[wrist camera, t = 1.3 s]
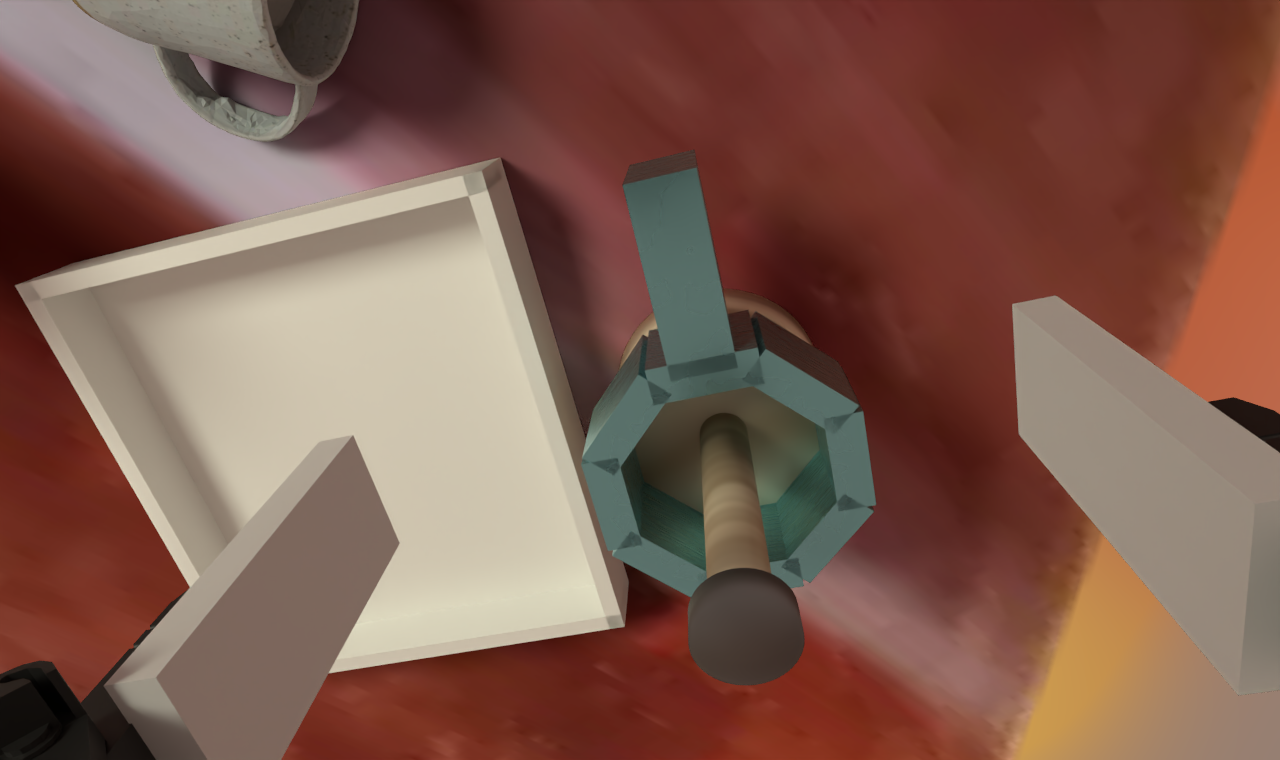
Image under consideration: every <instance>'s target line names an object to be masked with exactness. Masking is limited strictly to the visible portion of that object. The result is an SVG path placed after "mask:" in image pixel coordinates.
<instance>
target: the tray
mask: <svg viewBox="0 0 1280 760" xmlns="http://www.w3.org/2000/svg"><path fill="white" fill-rule="evenodd" d="M15 287H16V289H17V290H18V292H19V294H20V295H21V297H22V299H23V301H24V302H25V304H26V306H27V307H28V309H29V311H30V313H31V314H32V316H33V318H34V320H35V321H36V323H37V325H38V326H39V328H40V330H41V332H42V333H43V335H44V337H45V338H46V340H47V342H48V344H49V345H50V347H51V349H52V350H53V352H54V354H55V356H56V357H57V359H58V361H59V363H60V364H61V366H62V368H63V369H64V371H65V373H66V375H67V376H68V378H69V380H70V381H71V383H72V385H73V387H74V388H75V390H76V392H77V394H78V395H79V397H80V399H81V400H82V402H83V404H84V406H85V407H86V409H87V411H88V412H89V414H90V416H91V418H92V419H93V421H94V423H95V424H96V426H97V428H98V430H99V431H100V433H101V435H102V437H103V438H104V440H105V442H106V443H107V445H108V447H109V449H110V450H111V452H112V454H113V455H114V457H115V459H116V461H117V462H118V464H119V466H120V468H121V469H122V471H123V473H124V474H125V476H126V478H127V480H128V481H129V483H130V485H131V486H132V488H133V490H134V492H135V493H136V495H137V497H138V498H139V500H140V502H141V504H142V505H143V507H144V509H145V511H146V512H147V514H148V516H149V517H150V519H151V521H152V523H153V524H154V526H155V528H156V529H157V531H158V533H159V535H160V536H161V538H162V540H163V541H164V543H165V545H166V547H167V548H168V550H169V552H170V554H171V555H172V557H173V559H174V560H175V562H176V564H177V566H178V567H179V569H180V571H181V572H182V574H183V576H184V578H185V579H186V581H187V583H188V585H189V586H190V587H191V586H192V585H193V584H194V583H195V582H196V581H197V579H198V578H199V577H200V576H201V575H202V574H203V573H204V571H205V570H206V569H207V568H208V567H209V566H210V565H211V564H212V562H213V561H214V560H215V559H216V558H217V557H218V556H219V554H220V553H221V552H222V551H223V550H224V549H225V548H226V547H227V545H228V544H229V543H230V542H231V541H232V540H233V539H234V538H235V536H236V535H237V534H238V533H239V532H240V531H241V530H242V528H243V527H244V526H245V525H246V524H247V523H248V522H249V521H250V519H251V518H252V517H253V516H254V515H255V514H256V513H257V511H258V510H259V509H260V508H261V507H262V506H263V505H264V504H265V502H266V501H267V500H268V499H269V498H270V497H271V496H272V495H273V493H274V492H275V491H276V490H277V489H278V488H279V487H280V485H281V484H282V483H283V482H284V481H285V480H286V479H287V478H288V476H289V475H290V474H291V473H292V472H293V471H294V470H295V468H296V467H297V466H298V465H299V464H300V463H301V462H302V461H303V459H304V458H305V457H306V456H307V455H308V454H309V453H310V451H311V450H312V449H313V448H314V447H315V446H316V445H317V444H318V442H320V441H325V440H330V439H335V438H340V437H345V436H350V435H353V436H354V438H355V440H356V443H357V445H358V447H359V450H360V452H361V454H362V457H363V459H364V461H365V464H366V466H367V468H368V471H369V473H370V475H371V477H372V480H373V482H374V484H375V487H376V489H377V491H378V494H379V496H380V498H381V501H382V503H383V505H384V508H385V510H386V512H387V515H388V517H389V519H390V522H391V524H392V526H393V529H394V531H395V533H396V535H397V538H398V540H399V542H400V544H399V546H398V548H397V549H396V551H395V553H394V555H393V557H392V559H391V560H390V562H389V564H388V566H387V568H386V569H385V571H384V573H383V575H382V577H381V579H380V580H379V582H378V584H377V586H376V588H375V589H374V591H373V593H372V595H371V597H370V599H369V600H368V602H367V604H366V606H365V608H364V609H363V611H362V613H361V615H360V617H359V619H358V620H357V622H356V624H355V626H354V628H353V630H352V631H351V633H350V635H349V637H348V639H347V640H346V642H345V644H344V646H343V648H342V650H341V651H340V653H339V655H338V657H337V659H336V660H335V662H334V664H333V666H332V668H331V670H330V671H329V673H333V672H340V671H346V670H352V669H359V668H365V667H371V666H378V665H384V664H391V663H397V662H403V661H410V660H416V659H422V658H429V657H435V656H442V655H448V654H454V653H461V652H467V651H473V650H480V649H486V648H492V647H499V646H505V645H512V644H518V643H524V642H531V641H537V640H543V639H550V638H556V637H562V636H569V635H575V634H582V633H588V632H594V631H601V630H607V629H613V628H620V627H625V619H626V608H627V597H628V586H629V580H628V577H627V574H626V571H625V567H624V564H623V561H621V560H619V559H617V558H615V557H613V556H612V554H613V550H611V551H608V550H607V546H606V543H605V540H604V537H603V534H602V530H601V527H600V524H599V521H598V517H597V514H596V511H595V508H594V504H593V501H592V498H591V495H590V492H589V488H588V485H587V482H586V479H585V475H584V472H583V469H582V466H581V463H582V456H583V451H584V447H585V443H586V438H585V435H584V432H583V429H582V425H581V422H580V419H579V415H578V412H577V409H576V405H575V402H574V399H573V396H572V392H571V389H570V386H569V382H568V379H567V376H566V372H565V369H564V366H563V363H562V359H561V356H560V353H559V349H558V346H557V343H556V339H555V336H554V333H553V330H552V326H551V323H550V320H549V316H548V313H547V310H546V306H545V303H544V300H543V297H542V293H541V290H540V287H539V283H538V280H537V277H536V273H535V270H534V267H533V264H532V260H531V257H530V254H529V250H528V247H527V244H526V240H525V237H524V234H523V230H522V227H521V224H520V221H519V217H518V214H517V211H516V207H515V204H514V201H513V197H512V194H511V191H510V188H509V184H508V181H507V178H506V174H505V171H504V168H503V164H502V161H501V158H496V159H492V160H487V161H483V162H479V163H475V164H471V165H467V166H463V167H459V168H455V169H451V170H447V171H443V172H439V173H435V174H431V175H427V176H423V177H419V178H415V179H411V180H407V181H403V182H399V183H395V184H391V185H387V186H383V187H378V188H374V189H370V190H366V191H362V192H358V193H354V194H350V195H346V196H342V197H338V198H334V199H330V200H326V201H322V202H318V203H314V204H310V205H306V206H302V207H298V208H294V209H290V210H286V211H282V212H278V213H273V214H269V215H265V216H261V217H257V218H253V219H249V220H245V221H241V222H237V223H233V224H229V225H225V226H221V227H217V228H213V229H209V230H205V231H201V232H197V233H193V234H189V235H185V236H181V237H177V238H173V239H169V240H164V241H160V242H156V243H152V244H148V245H144V246H140V247H136V248H132V249H128V250H124V251H120V252H116V253H112V254H108V255H104V256H100V257H96V258H92V259H88V260H84V261H80V262H76V263H72V264H70V265H67V266H64V267H62V268H59V269H57V270H54V271H51V272H49V273H46V274H44V275H41V276H38V277H36V278H33V279H31V280H28V281H25V282H23V283H20V284H18V285H15Z"/></svg>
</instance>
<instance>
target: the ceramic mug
mask: <svg viewBox="0 0 1280 760" xmlns="http://www.w3.org/2000/svg"><path fill="white" fill-rule="evenodd" d="M73 1H74V3H75V4H76V5H77V6H78V7H79V8H80V9H81V10H83V11H84V12H85V13H86V14H88V15H89V16H90V17H92V18H94V19H95V20H97V21H99V22H100V23H102V24H104V25H106V26H108V27H110V28H112V29H114V30H116V31H119V32H121V33H123V34H125V35H127V36H129V37H132V38H134V39H137V40H140V41H143V42H146V43H149V44H153V47H154V50H155V53H156V56H157V59H158V61H159V63H160V65H161V68H162V71H163V73H164V75H165V76H166V78H167V79H168V81H169V82H170V84H171V85H172V87H173V89H174V90H175V92H176V93H177V95H178V96H179V97H180V98H181V99H182V100H183V101H184V102H185V103H186V104H187V105H188V106H189V107H190V108H191V109H192V110H193V111H195V112H196V113H197V114H198V115H200V116H201V117H202V118H203V119H205V120H206V121H208V122H209V123H211V124H213V125H214V126H216V127H218V128H220V129H222V130H224V131H226V132H228V133H231V134H233V135H236V136H239V137H242V138H246V139H250V140H255V141H263V142H267V141H275V140H278V139H281V138H284V137H285V136H286V135H288V134H289V133H291V132H292V131H293V130H294V129H295V128H296V127H297V126H298V125H299V123H300V122H302V121H303V120H304V119H305V118H306V116H307V115H308V113H309V112H310V111H311V109H312V107H313V105H314V102H315V98H316V95H317V88H318V84H319V83H321V82H323V81H324V80H326V79H327V78H328V77H329V76H330V75H331V74H332V73H333V72H335V70H336V68H337V66H338V65H339V64H340V62H341V60H342V58H343V56H344V54H345V52H346V51H347V48H348V44H349V42H350V40H351V37H352V35H353V31H354V28H355V24H356V19H357V12H358V6H359V0H73ZM188 53H189V54H193V55H197V56H200V57H203V58H207V59H210V60H213V61H216V62H220V63H223V64H226V65H230V66H233V67H237V68H240V69H244V70H247V71H250V72H254V73H257V74H260V75H264V76H267V77H270V78H274V79H277V80H280V81H284V82H287V83H292V84H295V96H294V101H293V106H292V109H291V113H290V115H289V116H280V117H277V116H274V115H270V114H267V113H264V112H261V111H258V110H255V109H252V108H249V107H246V106H243V105H241V104H238V103H236V102H234V101H233V100H231V99H230V98H226V97H221V96H220V95H219V94H218V93H217V92H215V91H214V90H213V89H212V88H211V87H210V85H209V84H208V83H207V82H206V81H205V80H204V78H203V77H202V76H201V75H200V74H199V72H198V70H197V69H196V67H195V65H194V62H193V61H192V60H191V58H190V57H189V54H188Z"/></svg>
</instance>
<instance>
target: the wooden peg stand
mask: <svg viewBox="0 0 1280 760" xmlns="http://www.w3.org/2000/svg"><path fill="white" fill-rule="evenodd" d="M723 291H724V296H725V301H726V306H727V311H728V314H730V313H735V312H739V311H744V310H749V314H750V318H751V316H752V315H753V314H754V312H755V311H757V312H758V313H760V314H762V315H763V316H765V317H766V318H768V319H770V320H771V321H773V322H775V323H776V324H778V325H779V326H781V327H783V328H784V329H786V330H788V331H789V332H791V333H792V334H794V335H796V336H797V337H799V338H801V339H802V340H804V341H805V342H807V343H809V344H810V345H812V342H811V340H810V339H809V337H808V335H807V333H806V332H805V330H804V329H803V328H802V326H801V325H800V324H799V323H798V321H797V320H796V319H795V318H794V317H793V316H792V315H790V314H789V313H788V312H787V311H786V310H784V309H783V308H782V307H780V306H779V305H777V304H776V303H774V302H772V301H770V300H768V299H766V298H764V297H762V296H759V295H756V294H754V293H750V292H746V291H741V290H734V289H723ZM654 329H658V328H657V324H656V320H655V315H654V312H653V313H651V314H650V315H649V316H648V317H647V318H646V319H645V320H644V321H643V322H642V323H641V324H640V325H639V326H638V328H637V329H636V330H635V332H634V333H633V334H632V336H631V338H630V340H629V341H628V343H627V345H626V347H625V350H624V353H623V355H622V358H621V363H620V367H619V370H620V368H621V367H622V365H623V364H624V362H625V361H626V359H627V358H628V356H629V355H630V353H631V352H632V350H633V349H634V347H635V346H636V344H637V343H638V341H639V340H640V338H641V337H642V335H645V336H647V337H648V333H649V330H654ZM812 346H813V345H812ZM635 450H636V454H637V457H638V461H639V464H640V468H641V472H642V475H643V479H644V482H646V483H647V484H649V485H651V486H653V487H655V488H657V489H658V490H660V491H662V492H664V493H666V494H667V495H669V496H671V497H673V498H675V499H677V500H678V501H680V502H682V503H684V504H686V505H687V506H689V507H691V508H693V509H695V510H696V511H698V512H700V513H702V514H704V532H705V552H706V572H707V579H706V580H705V581H704V582H702V583H701V584H700V585H699V586H698V587H697V589H696V590H695V591H694V593H693V595H692V597H691V599H690V602H689V606H688V641H689V650H690V653H691V655H692V657H693V659H694V661H695V662H696V664H697V665H698V666H699V667H700V668H701V669H702V670H703V671H704V672H705V673H707V674H708V675H710V676H712V677H713V678H715V679H718V680H720V681H723V682H726V683H730V684H735V685H756V684H762V683H766V682H769V681H772V680H774V679H776V678H778V677H780V676H782V675H784V674H785V673H786V672H788V671H789V670H790V669H791V668H792V667H793V666H794V665H795V664H796V663H797V661H798V660H799V658H800V656H801V654H802V651H803V648H804V632H803V627H802V622H801V617H800V612H799V607H798V603H797V599H796V597H795V595H794V593H793V591H792V590H791V588H790V587H789V586H788V585H787V584H786V583H785V582H784V581H783V580H781V579H780V578H779V577H777V576H775V575H773V574H771V568H770V562H769V556H768V550H767V545H766V539H765V533H764V527H763V521H762V515H761V509H760V505H766V504H772V503H776V502H777V501H778V500H779V498H780V497H781V496H782V495H783V493H784V492H785V491H786V490H787V489H788V487H789V486H790V485H791V484H792V483H793V481H794V480H795V479H796V478H797V477H798V475H799V474H800V473H801V472H802V470H803V469H804V468H805V467H806V466H807V464H808V463H809V462H810V461H811V460H812V458H813V457H814V456H815V455H816V453H817V452H818V451H819V450H820V449H819V443H818V437H817V431H816V425H815V423H814V422H812V421H810V420H809V419H807V418H805V417H804V416H802V415H800V414H799V413H797V412H795V411H794V410H792V409H790V408H789V407H787V406H785V405H784V404H782V403H780V402H778V401H777V400H775V399H773V398H772V397H770V396H768V395H767V394H765V393H763V392H762V391H760V390H758V389H757V388H755V387H753V386H751V387H746V388H741V389H736V390H731V391H726V392H720V393H715V394H710V395H705V396H700V397H695V398H690V399H685V400H680V401H675V402H669V403H665V405H664V406H663V407H662V409H661V410H660V412H659V413H658V414H657V416H656V417H655V419H654V420H653V422H652V423H651V424H650V426H649V427H648V429H647V430H646V431H645V433H644V434H643V436H642V437H641V439H640V440H639V441H638V443H637V444H636V446H635Z"/></svg>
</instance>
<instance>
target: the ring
mask: <svg viewBox="0 0 1280 760" xmlns="http://www.w3.org/2000/svg"><path fill="white" fill-rule="evenodd" d="M623 189H624V193H625V197H626V201H627V206H628V210H629V214H630V218H631V222H632V226H633V230H634V234H635V238H636V242H637V246H638V250H639V254H640V258H641V263H642V267H643V271H644V275H645V279H646V283H647V287H648V291H649V295H650V299H651V303H652V307H653V311H654V315H655V320H656V324H657V328H658V329H654V330H649V333H648V337H647V336H645V335H642V337H641V338H640V340H639V341H638V343H637V344H636V346H635V347H634V349H633V350H632V352H631V353H630V355H629V356H628V358H627V359H626V361H625V362H624V364H623V365H622V367H621V368H620V370H619V371H618V373H617V374H616V376H615V377H614V379H613V380H612V382H611V383H610V385H609V386H608V388H607V390H606V391H605V393H604V394H603V396H602V397H601V399H600V400H599V402H598V403H597V405H596V406H595V408H594V409H593V412H592V416H591V421H590V425H589V429H588V434H587V438H586V443H585V447H584V451H583V456H582V463H581V466H582V469H583V472H584V475H585V479H586V482H587V485H588V488H589V492H590V495H591V498H592V501H593V504H594V508H595V511H596V514H597V517H598V521H599V524H600V527H601V530H602V534H603V537H604V540H605V543H606V546H607V550H608V551H611V550H613V554H612V556H613V557H615V558H617V559H619V560H621V561H623V562H625V563H627V564H629V565H630V566H632V567H634V568H636V569H638V570H640V571H642V572H644V573H646V574H648V575H649V576H651V577H653V578H655V579H657V580H659V581H661V582H663V583H665V584H667V585H668V586H670V587H672V588H674V589H676V590H678V591H680V592H682V593H684V594H686V595H687V596H689V597H692V595H693V593H694V591H695V590H696V589H697V587H698V586H699V585H700V584H701V583H702V582H704V581H705V580H706V579H707V572H706V552H705V532H704V514H702V513H700V512H698V511H696V510H695V509H693V508H691V507H689V506H687V505H686V504H684V503H682V502H680V501H678V500H677V499H675V498H673V497H671V496H669V495H667V494H666V493H664V492H662V491H660V490H658V489H657V488H655V487H653V486H651V485H649V484H647V483H646V482H644V479H643V475H642V472H641V468H640V464H639V461H638V457H637V454H636V450H635V446H636V444H637V443H638V441H639V440H640V439H641V437H642V436H643V434H644V433H645V431H646V430H647V429H648V427H649V426H650V424H651V423H652V422H653V420H654V419H655V417H656V416H657V414H658V413H659V412H660V410H661V409H662V407H663V406H664V405H665V403H669V402H675V401H680V400H685V399H690V398H695V397H700V396H705V395H710V394H715V393H720V392H726V391H731V390H736V389H741V388H746V387H751V386H753V387H755V388H757V389H758V390H760V391H762V392H763V393H765V394H767V395H768V396H770V397H772V398H773V399H775V400H777V401H778V402H780V403H782V404H784V405H785V406H787V407H789V408H790V409H792V410H794V411H795V412H797V413H799V414H800V415H802V416H804V417H805V418H807V419H809V420H810V421H812V422H814V423H815V425H816V431H817V437H818V443H819V449H820V450H819V451H818V452H817V453H816V455H815V456H814V457H813V458H812V460H811V461H810V462H809V463H808V464H807V466H806V467H805V468H804V469H803V470H802V472H801V473H800V474H799V475H798V477H797V478H796V479H795V480H794V481H793V483H792V484H791V485H790V486H789V487H788V489H787V490H786V491H785V492H784V493H783V495H782V496H781V497H780V498H779V500H778V501H777V502H776V503H772V504H766V505H760V509H761V515H762V521H763V527H764V533H765V539H766V545H767V550H768V556H769V562H770V568H771V574H773V575H775V576H777V577H779V578H780V579H781V580H783V581H784V582H785V583H786V584H787V585H788V586H789V587H790V588H795V587H801V586H804V584H803V579H804V580H806V581H808V582H809V583H810V582H811V581H812V580H813V579H814V578H815V577H816V576H817V575H818V573H819V572H820V571H821V570H822V569H823V568H824V567H825V566H826V565H827V563H828V562H829V561H830V560H831V559H832V558H833V557H834V556H835V554H836V553H837V552H838V551H839V550H840V549H841V548H842V547H843V546H844V544H845V543H846V542H847V541H848V540H849V539H850V538H851V537H852V536H853V534H854V533H855V532H856V531H857V530H858V529H859V528H860V527H861V525H862V524H863V523H864V522H865V521H866V520H867V519H868V518H869V517H870V515H871V514H872V513H873V512H874V510H873V507H872V506H874V505H876V499H875V492H874V485H873V478H872V471H871V464H870V457H869V449H868V442H867V435H866V428H865V421H864V414H863V410H862V408H861V406H860V404H859V402H858V400H857V398H856V396H855V393H854V391H853V389H852V387H851V385H850V383H849V381H848V379H847V377H846V375H845V373H844V371H843V369H842V367H840V364H839V362H838V361H836V360H835V359H833V358H831V357H830V356H828V355H827V354H825V353H823V352H822V351H820V350H818V349H817V348H815V347H814V346H812V345H810V344H809V343H807V342H805V341H804V340H802V339H801V338H799V337H797V336H796V335H794V334H792V333H791V332H789V331H788V330H786V329H784V328H783V327H781V326H779V325H778V324H776V323H775V322H773V321H771V320H770V319H768V318H766V317H765V316H763V315H762V314H760V313H758V312H757V311H755V312H754V314H753V315H752V316H751V318H750V314H749V310H744V311H739V312H735V313H730V314H728V311H727V306H726V301H725V296H724V291H723V286H722V282H721V277H720V272H719V267H718V262H717V257H716V252H715V248H714V243H713V238H712V233H711V228H710V223H709V218H708V213H707V209H706V204H705V199H704V194H703V189H702V184H701V179H700V175H699V170H698V165H697V160H696V155H695V150H691V151H687V152H682V153H678V154H674V155H670V156H666V157H662V158H657V159H653V160H649V161H645V162H641V163H637V164H633V165H630V166H629V169H628V171H627V174H626V177H625V180H624V182H623Z"/></svg>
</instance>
